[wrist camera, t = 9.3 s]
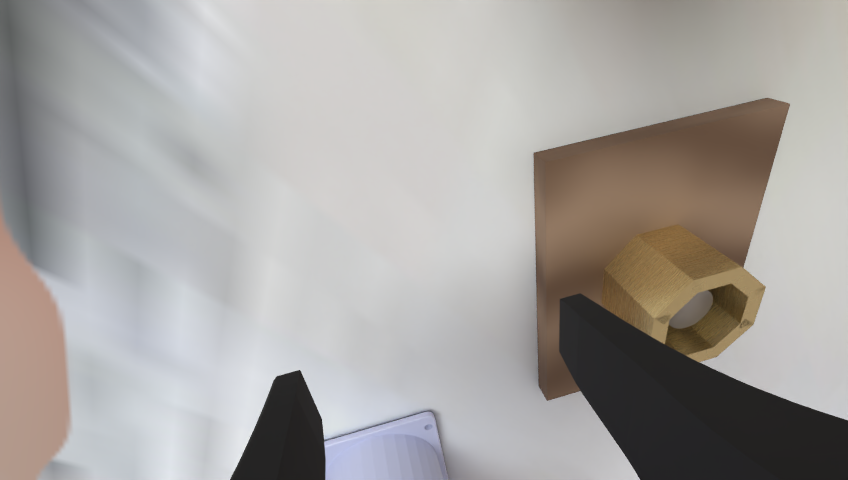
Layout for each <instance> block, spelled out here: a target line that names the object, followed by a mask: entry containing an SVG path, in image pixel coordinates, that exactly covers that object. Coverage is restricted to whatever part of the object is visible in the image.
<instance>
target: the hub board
mask: <svg viewBox="0 0 848 480" xmlns="http://www.w3.org/2000/svg"><path fill="white" fill-rule="evenodd" d="M789 106H790V104H789V103H785V102H781V101H777V100H774V99H770V98H765V99H760V100H756V101H752V102H748V103H744V104H739V105H735V106H731V107H727V108H722V109H718V110H714V111H710V112H705V113H701V114H697V115H693V116H688V117H684V118H680V119H676V120H671V121H667V122H663V123H659V124H654V125H650V126H646V127H642V128H637V129H633V130H629V131H625V132H620V133H616V134H612V135H608V136H603V137H599V138H595V139H591V140H586V141H582V142H578V143H574V144H570V145H565V146H561V147H557V148H553V149H548V150H544V151H540V152H536V153H534V191H535V237H536V283H537V329H538V374H539V387H540V389H541V391H542V393H543V394H544V396H545V398H546V400H547V401H548V400H551V399H555V398H558V397H561V396H565V395H568V394H571V393H575V392H578V391H581V390H580V389H579V387H578V386H577V384H576V383H575V381H574V379H573V377H572V375H571V373H570V372H569V370H568V368H567V366H566V364H565V362H564V360H563V358H562V356H561V354H560V352H559V320H560V299H561V298H565V297H568V296H572V295H576V294H579V293H581V294H583V295H584V296H586V297H587V298H589V299H591V300H592V301H594V302H595V303H597V304H599V305H600V306H602V307H603V308H605V306H604V305H603V304H602V303H601V302H602V289H603V277H604V269H605V268H606V267H607V265H608V264H609V263H610V262H611V261H612V260H613V259H614V258H615V257H616V256H617V255H618V254H619V253H620V252H621V251H622V250H623V249H624V247H625V246H626V245H627V244H628V243H629V242H630V241H631V240H632V239H633V238H634V237H635V236H636V235H638V234H642V233H646V232H649V231H653V230H657V229H661V228H665V227H669V226H672V225H676V224H679V225H680V226H682V227H683V228H685V229H686V230H688V231H689V232H691V233H692V234H694V235H695V236H697V237H698V238H700V239H701V240H703V241H704V242H706V243H707V244H709V245H710V246H712V247H713V248H715V249H716V250H717V251H719V252H720V253H722V254H723V255H725V256H726V257H728V258H729V259H731V260H732V261H734V262H735V263H737V264H738V265H740V266H741V267H744V263H745V260H746V256H747V253H748V249H749V246H750V242H751V239H752V235H753V232H754V228H755V225H756V221H757V218H758V214H759V211H760V207H761V204H762V200H763V197H764V193H765V190H766V186H767V183H768V179H769V176H770V172H771V169H772V165H773V162H774V158H775V155H776V151H777V148H778V144H779V141H780V137H781V134H782V130H783V127H784V123H785V120H786V116H787V113H788V109H789ZM712 303H713V296H712V294H711V293H710V292H709V291H708V290H706V291H703V292H699V293H697V294H696V295H695V296H694V297H693V298H692V299H691V300H690V301H689V302H688V303H686V304H685V305H684V306H683V307H682V308H681V309H680V310H679V311H678V312H677V313H676V314H675V315H674V316H673V317H672V318H671V319H670V320H669V325H670V326H671V327H673V328H677V329H681V328H686V327H689V326H691V325H693V324H695V323H697V322H698V321H700V320H701V319H702V318H703V317H704V316H705V315H706V314H707V313H708V311H709V310H710V308H711V306H712ZM605 309H606V308H605ZM606 310H607V309H606Z"/></svg>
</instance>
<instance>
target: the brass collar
mask: <svg viewBox="0 0 848 480" xmlns="http://www.w3.org/2000/svg"><path fill="white" fill-rule="evenodd" d="M765 288H766V287H765V286H764V285H763V284H762V283H760V282H759V281H758V280H757V279H756V278H754V277H753V276H752V275H751V274H750V273H749V272H747V271H746V270H745V269H744V268H743V267H741V266H740V265H738V264H737V263H735V262H734V261H732V260H731V259H729V258H728V257H726V256H725V255H723V254H722V253H720V252H719V251H717V250H716V249H715V248H713V247H712V246H710V245H709V244H707V243H706V242H704V241H703V240H701V239H700V238H698V237H697V236H695V235H694V234H692V233H691V232H689V231H688V230H686V229H685V228H683V227H682V226H680V225H679V224H676V225H672V226H669V227H665V228H661V229H657V230H653V231H649V232H646V233H642V234H638V235H636V236H635V237H634V238H633V239H632V240H631V241H630V242H629V243H628V244H627V245H626V246H625V247H624V249H623V250H622V251H621V252H620V253H619V254H618V255H617V256H616V257H615V258H614V259H613V260H612V261H611V262H610V263H609V264H608V265H607V267H606V268H605V269H604V277H603V289H602V302H601V303H602V304H603V305H604V306H605V308H606V309H607V310H608V311H610V312H611V313H613V314H614V315H616V316H618V317H619V318H621V319H622V320H624V321H626V322H627V323H629V324H631V325H632V326H634V327H636V328H637V329H639V330H641V331H642V332H644V333H646V334H647V335H649V336H651V337H653V338H654V339H656V340H658V341H660V342H661V343H663V344H665V345H667V346H669V347H670V348H672V349H674V350H676V351H678V352H680V353H682V354H684V355H686V356H688V357H690V358H691V359H693V360H695V361H697V362H701V361H704V360H708V359H711V358H714V357H717V356H718V355H719V354H720V353H721V352H723V351H724V350H725V349H726V348H727V347H728V346H729V345H731V344H732V343H733V342H734V341H735V340H736V339H737V338H738V337H740V336H741V335H742V334H743V333H744V332H745V331H746V330H748V329H749V328H750V327H751V326H752V325H753V324H754V321H755V318H756V315H757V312H758V309H759V306H760V303H761V300H762V297H763V294H764V291H765ZM706 290H708V291H709V292H710V293H711V294H712V296H713V303H712V306H711V308H710V310H709V311H708V313H707V314H706V315H705V316H704V317H703V318H702V319H701V320H700V321H698V322H697V323H695V324H693V325H691V326H689V327H686V328H681V329H677V328H673V327H671V326H670V325H669V320H670V319H671V318H672V317H673V316H674V315H675V314H676V313H677V312H678V311H679V310H680V309H681V308H682V307H683V306H684V305H685V304H686V303H688V302H689V301H690V300H691V299H692V298H693V297H694V296H695V295H696V294H697V293H699V292H703V291H706Z"/></svg>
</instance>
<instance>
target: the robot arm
mask: <svg viewBox="0 0 848 480" xmlns="http://www.w3.org/2000/svg"><path fill="white" fill-rule="evenodd" d="M559 352H560V354H561V356H562V358H563V360H564V362H565V364H566V366H567V368H568V370H569V372H570V373H571V375H572V377H573V379H574V381H575V383H576V384H577V386H578V387H579V389H580V390H581V392H582V393H583V395H584V396H585V398H586V399H587V401H588V402H589V404H590V405H591V407H592V408H593V409H594V411H595V412H596V414H597V415H598V417H599V418H600V420H601V421H602V422H603V424H604V425H605V427H606V428H607V430H608V431H609V433H610V434H611V435H612V437H613V438H614V440H615V441H616V443H617V444H618V445H619V447H620V448H621V450H622V451H623V453H624V454H625V456H626V457H627V459H628V460H629V462H630V464H631V465H632V467H633V468H634V470H635V471H636V473H637V475H638V477H639V478H640V480H848V420H845V419H841V418H838V417H835V416H832V415H829V414H826V413H823V412H820V411H817V410H814V409H811V408H808V407H805V406H802V405H800V404H797V403H794V402H791V401H789V400H786V399H783V398H781V397H778V396H776V395H773V394H770V393H768V392H765V391H763V390H760V389H757V388H755V387H753V386H750V385H748V384H745V383H743V382H741V381H738V380H736V379H734V378H732V377H730V376H727V375H725V374H723V373H721V372H718V371H716V370H714V369H712V368H710V367H708V366H706V365H703V364H701V363H699V362H697V361H695V360H693V359H691V358H690V357H688V356H686V355H684V354H682V353H680V352H678V351H676V350H674V349H672V348H670V347H669V346H667V345H665V344H663V343H661V342H660V341H658V340H656V339H654V338H653V337H651V336H649V335H647V334H646V333H644V332H642V331H641V330H639V329H637V328H636V327H634V326H632V325H631V324H629V323H627V322H626V321H624V320H622V319H621V318H619V317H618V316H616V315H614V314H613V313H611V312H610V311H608V310H606V309H605V308H603V307H602V306H600V305H599V304H597V303H595V302H594V301H592V300H591V299H589V298H587V297H586V296H584V295H583V294H581V293H579V294H576V295H572V296H568V297H565V298H561V299H560V320H559ZM230 480H449V479H448V475H447V470H446V466H445V461H444V457H443V452H442V448H441V443H440V439H439V434H438V430H437V425H436V421H435V417H434V414H433V413H432V412H423V413H420V414H416V415H413V416H410V417H406V418H403V419H399V420H396V421H393V422H389V423H386V424H382V425H379V426H376V427H372V428H369V429H365V430H362V431H358V432H355V433H352V434H348V435H345V436H341V437H338V438H335V439H331V440H328V441H324V435H323V426H322V419H321V416H320V414H319V412H318V410H317V407H316V405H315V403H314V400H313V398H312V396H311V394H310V391H309V389H308V387H307V385H306V382H305V380H304V378H303V375H302V373H301V371H300V370H298V371H295V372H291V373H287V374H284V375H280V376H277V377H276V378H275V380H274V381H273V384H272V387H271V389H270V392H269V394H268V397H267V400H266V402H265V405H264V407H263V409H262V412H261V414H260V417H259V419H258V421H257V424H256V426H255V428H254V431H253V433H252V435H251V437H250V439H249V442H248V444H247V446H246V448H245V450H244V453H243V455H242V457H241V459H240V461H239V463H238V465H237V467H236V469H235V471H234V473H233V475H232V477H231V479H230Z"/></svg>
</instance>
